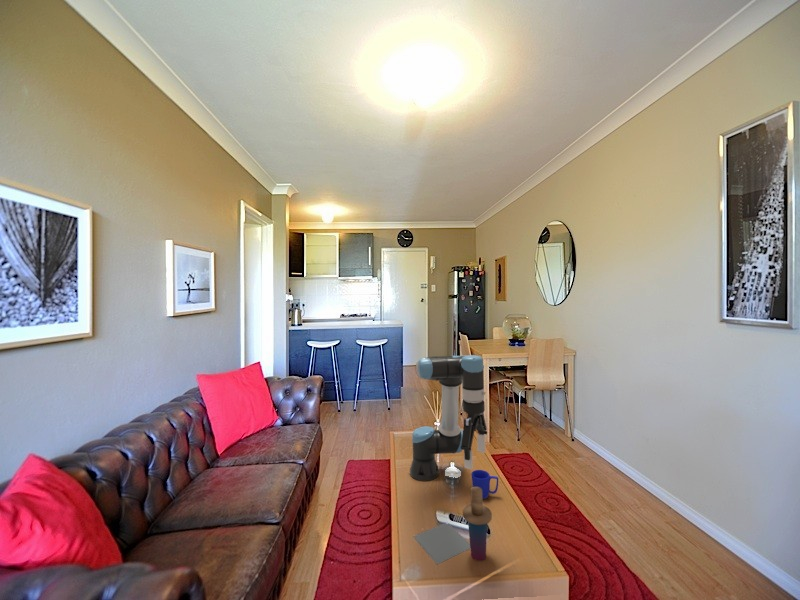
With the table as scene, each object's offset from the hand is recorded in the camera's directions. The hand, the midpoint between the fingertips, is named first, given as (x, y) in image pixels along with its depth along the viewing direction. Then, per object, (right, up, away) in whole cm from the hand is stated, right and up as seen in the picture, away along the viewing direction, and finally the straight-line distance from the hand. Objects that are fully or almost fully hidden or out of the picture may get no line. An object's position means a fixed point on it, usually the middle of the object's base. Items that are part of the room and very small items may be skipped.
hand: (475, 459), depth 120 cm
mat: (-11, -35, +7) cm, 37 cm away
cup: (+1, -35, 0) cm, 35 cm away
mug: (+13, -34, +37) cm, 52 cm away
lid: (+1, -20, 0) cm, 20 cm away
